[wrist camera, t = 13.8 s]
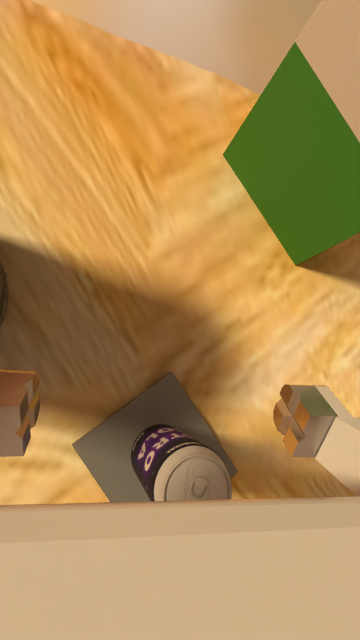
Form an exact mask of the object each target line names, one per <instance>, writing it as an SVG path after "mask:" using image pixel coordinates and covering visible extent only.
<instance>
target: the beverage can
mask: <svg viewBox="0 0 360 640" xmlns="http://www.w3.org/2000/svg"><path fill="white" fill-rule="evenodd" d="M131 463H132V467H133V470H134V472H135V473H136V475H137V477H138V479H139V481H140V483H141V484H142V486H143V488H144V490H145V492H146V493H147V495H148V497H149V499H150V501H189V500H229V499H231V495H232V485H231V480H230V477H229V474H228V472H227V469H226V466H225V464H224V462H223V460H222V459H221V457H220V456H219V455H218V454H217V453H216V452H215V451H214V450H212V449H211V448H209V447H207V446H205V445H204V444H202V443H200V442H198V441H196V440H195V439H193V438H191V437H189V436H188V435H186V434H184V433H182V432H181V431H179V430H177V429H175V428H173V427H172V426H169V425H165V424H157V425H153V426H150V427H148V428H146V429H145V430H144V431H142V432H141V433H140V434H139V436H138V437H137V438H136V440H135V442H134V444H133V447H132V451H131Z"/></svg>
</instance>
